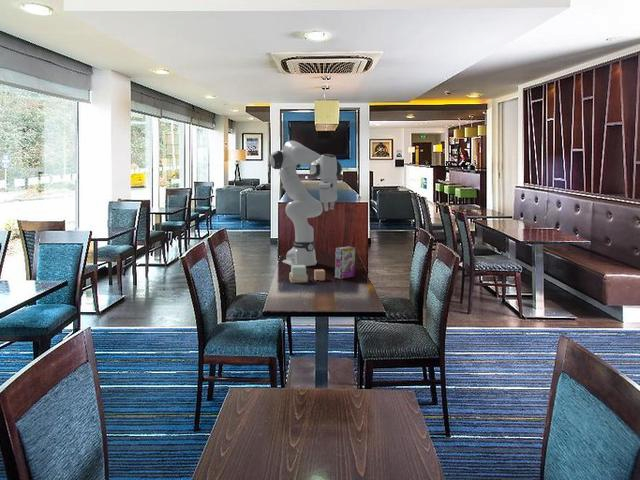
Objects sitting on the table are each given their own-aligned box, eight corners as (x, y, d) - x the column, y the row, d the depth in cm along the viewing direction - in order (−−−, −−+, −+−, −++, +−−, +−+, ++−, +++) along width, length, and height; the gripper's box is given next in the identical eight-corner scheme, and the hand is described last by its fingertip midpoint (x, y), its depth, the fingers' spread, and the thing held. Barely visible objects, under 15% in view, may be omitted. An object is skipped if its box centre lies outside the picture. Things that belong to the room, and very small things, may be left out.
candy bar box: (341, 279, 298) (341, 249, 295) (334, 278, 301) (334, 248, 299) (355, 276, 305) (355, 246, 303) (348, 275, 309) (348, 245, 307)
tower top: (291, 272, 298) (291, 265, 297) (304, 272, 299) (304, 264, 298) (292, 275, 291) (292, 267, 290) (306, 274, 292) (306, 267, 292)
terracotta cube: (314, 278, 300) (314, 269, 300) (323, 278, 301) (323, 269, 301) (315, 280, 296) (315, 271, 295) (325, 280, 296) (325, 271, 296)
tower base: (289, 279, 299) (289, 272, 298) (305, 279, 300) (305, 271, 300) (291, 283, 290) (291, 275, 290) (307, 282, 292) (307, 275, 291)
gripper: (329, 183, 312) (329, 208, 313) (317, 185, 292) (317, 211, 294) (340, 183, 310) (340, 208, 311) (329, 185, 290) (329, 211, 292)
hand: (329, 210), depth 303 cm, fingers open, 8 cm apart
